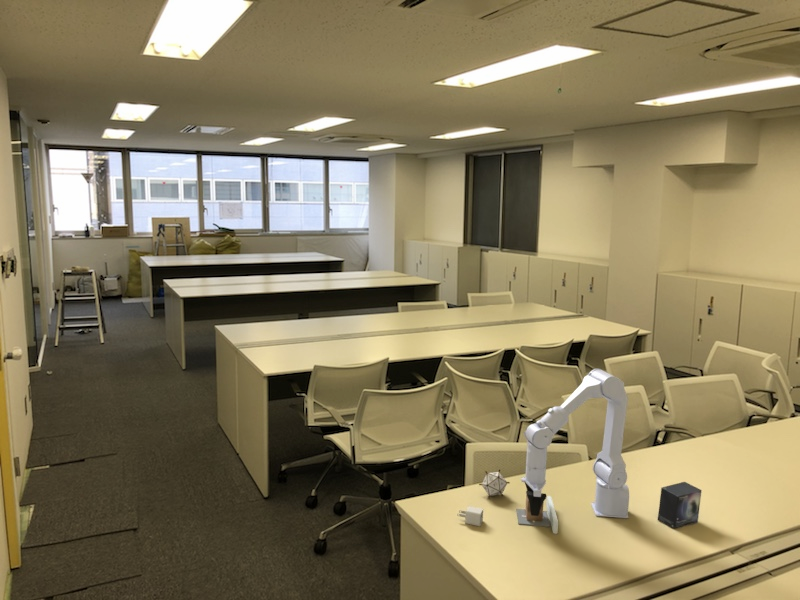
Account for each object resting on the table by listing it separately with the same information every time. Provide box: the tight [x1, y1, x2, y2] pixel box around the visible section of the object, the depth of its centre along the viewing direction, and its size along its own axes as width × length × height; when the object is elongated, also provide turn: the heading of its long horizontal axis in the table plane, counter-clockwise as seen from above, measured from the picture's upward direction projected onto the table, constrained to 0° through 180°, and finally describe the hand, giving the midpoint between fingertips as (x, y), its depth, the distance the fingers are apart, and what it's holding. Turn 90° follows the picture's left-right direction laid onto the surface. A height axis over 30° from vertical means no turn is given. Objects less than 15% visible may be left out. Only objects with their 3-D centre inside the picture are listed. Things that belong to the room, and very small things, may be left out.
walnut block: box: [525, 493, 545, 521], centre depth 183 cm, size 4×4×6 cm
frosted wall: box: [545, 495, 559, 535], centre depth 183 cm, size 1×16×4 cm, turn 173°
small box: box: [657, 481, 703, 530], centre depth 183 cm, size 11×6×10 cm, turn 117°
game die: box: [478, 468, 511, 499], centre depth 197 cm, size 9×8×10 cm
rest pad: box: [515, 508, 551, 528], centre depth 184 cm, size 9×9×1 cm
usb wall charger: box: [457, 505, 484, 527], centre depth 180 cm, size 4×7×4 cm, turn 70°
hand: (533, 508), depth 183 cm, fingers open, 7 cm apart
